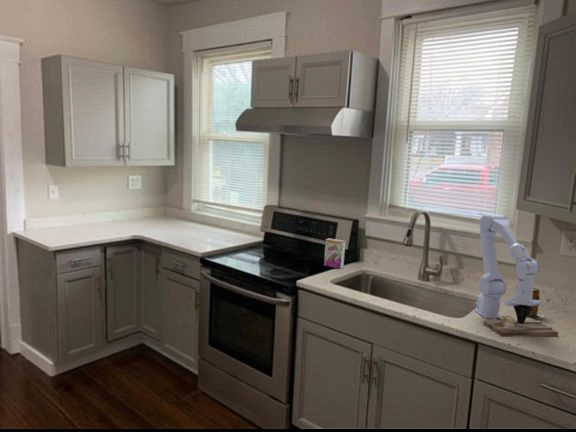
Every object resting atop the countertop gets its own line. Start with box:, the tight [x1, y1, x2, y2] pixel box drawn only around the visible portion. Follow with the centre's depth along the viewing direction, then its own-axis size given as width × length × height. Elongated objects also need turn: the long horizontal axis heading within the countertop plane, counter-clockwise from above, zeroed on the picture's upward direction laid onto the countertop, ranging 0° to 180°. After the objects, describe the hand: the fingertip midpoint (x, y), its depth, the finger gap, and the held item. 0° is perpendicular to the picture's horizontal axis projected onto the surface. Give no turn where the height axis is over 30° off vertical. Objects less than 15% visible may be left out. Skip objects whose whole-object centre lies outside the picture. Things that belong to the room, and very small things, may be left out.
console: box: [483, 320, 559, 337], centre depth 176 cm, size 12×24×2 cm, turn 98°
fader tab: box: [499, 314, 516, 327], centre depth 174 cm, size 4×3×4 cm
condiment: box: [527, 287, 545, 320], centre depth 193 cm, size 7×8×12 cm
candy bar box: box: [323, 238, 346, 270], centre depth 259 cm, size 11×5×16 cm, turn 59°
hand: (520, 322), depth 175 cm, fingers closed
